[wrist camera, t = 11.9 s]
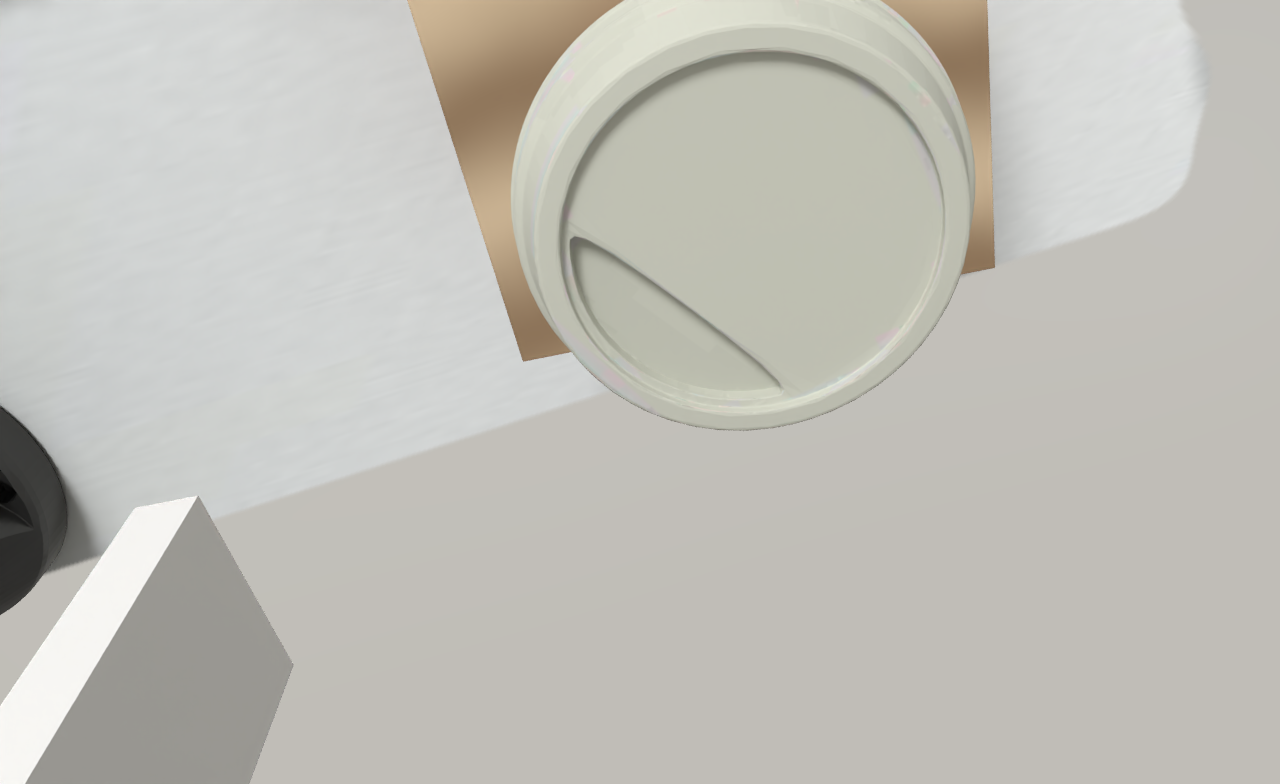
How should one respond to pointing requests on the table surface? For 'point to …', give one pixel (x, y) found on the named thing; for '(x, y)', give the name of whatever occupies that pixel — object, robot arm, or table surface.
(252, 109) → the table surface
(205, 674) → the robot arm
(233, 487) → the table surface
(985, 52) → the riser
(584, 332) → the coffee cup
